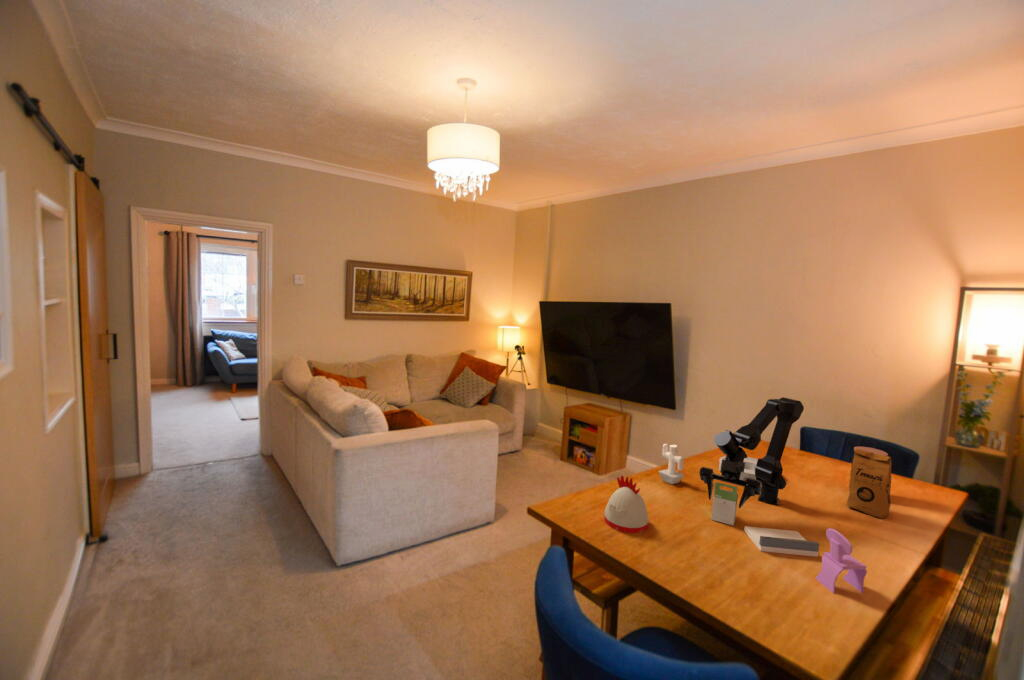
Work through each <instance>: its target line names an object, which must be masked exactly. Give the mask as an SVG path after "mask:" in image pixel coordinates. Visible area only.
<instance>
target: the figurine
mask: <svg viewBox="0 0 1024 680" xmlns="http://www.w3.org/2000/svg"><path fill="white" fill-rule="evenodd" d="M678 452H679V451H678V445H677V444H670V445H669V444H668V443H663V445H662V454H661V455H662V457H663V458H664V459H667V460H668V466H667V468H665V469H662V470H658V474H659V476H660V478H661V480H662V482H665V483H667V484H670V485H675V484H679V483H680V482H681V480H682V479H683V477H684V476H685V475H686V474H684V473H682V472H679V471H683V469H684V463H685V462H684V458H683V456H680V455H678ZM676 466H677V467H676ZM676 468H677V470H676Z"/></svg>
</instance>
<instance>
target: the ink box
mask: <svg viewBox="0 0 1024 680" xmlns="http://www.w3.org/2000/svg"><path fill="white" fill-rule="evenodd" d="M722 487H725V488H727V489H723V488H722ZM728 489H731V490H728ZM738 497H739V493H738V485H736V486H735V485H733V484H728V483H727V484H726V483H723V482H717V481H715V482H714V491H713V497H712V507H711V508H712V509H711V517H710V519H711V520H712V521H715V522H719V523H723V524H726V525H729V526H735V523H736V517H737V516H736V515H737V508H738V507H737V506H738V500H739V498H738Z"/></svg>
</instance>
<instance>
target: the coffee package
mask: <svg viewBox="0 0 1024 680" xmlns="http://www.w3.org/2000/svg"><path fill="white" fill-rule="evenodd" d="M854 453H855V455H854V459H853V458H852V459H853V464H852V463H851V467H852V469H851V468H850V472H849V473H850V474H849V475H850V476H849V483H850V484H848V491H849V493H848V497H847V501H846V507H849V508H852V509H855V510H857V511H859V512H862V513H865V514H867V515H870V516H873V517H875V518H879V519H882V520H884V518H886V517H889V515H890V509H891V501H892V498H891V487H892V486H891V485H892V457H891V456H889V455H888V456H884V455H880V454H876V453H872V452H868V451H864V450H860V449H855V451H854ZM849 485H850V486H849Z"/></svg>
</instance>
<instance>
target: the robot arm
mask: <svg viewBox="0 0 1024 680" xmlns="http://www.w3.org/2000/svg"><path fill="white" fill-rule="evenodd" d="M804 409H805V408H804V405H803V402H802V401H801V400H798V399H792V398H789V397H781V398H769V399H767V401H766V403H765V405H764V406H763V407H762V409H761V410H760V411H759V412H758V413H757V414H756V415H755V417H754V418H753V419H752V420H751V421H750V422H749V423H748V424H746V425H743V426H741V427H740V428H738V429H737V430H736V431H735V432H732V431H731V430H729V429H725V430H724V431H722V432H718V434H716V435H714V438H713V443H714V444H715V445H716V446H717V448H718V449H719V450H720V451H721V452H722V453H723V454H724V455H725V456H726V458H725V460H722V463H721V470H719V471H720V473H721V474H719V473H715V472H714V468H709V467H706V466H702V467H700V469H699V471H698V473H699V477H700V480H701V481H703V483H704V484H706V486H707V494H708V500H709V501H711V499H712V494H713V490H714V488H713V487H714V480H715V481H716V480H717V481H721V482H722V483H723V482H724V483H727V484H728V483H729V484H730V485H734V486H735V485H736V486H740V487H743V491H742V495H741V497H740V500H739V503H738V509H741V508H742V507H743V506H744V504H745V503H746V502H747V500H749V499H750V498H751V497H755V496H758V498H757V501H760V502H762V503H763V502H764V503H768V504H772V505H775V506H778V505H779V503H780V502H779V501H780V498H779V490H784V488H786V485H787V481H786V479H785V477H784V476H783V471H784V469H783V466H782V462H781V461H782V460H781V459H782V457H783V453H784V452H785V447H786V444H787V442H788V438H789V436H790V432H791V429H792V426H793V425H794V423H795V422H797V421H798V420H799V419H800V418H801V416H802V413H803V412H804ZM774 419H776V423H775V426H774V429H773V433H772V435H771V438H770V440H769V441H770V442H769V444H768V447H767V451H766V454H765V455H764V456H763V457H762V458H757V459H758V460H757V464H756V467H755V476H756V480H755V479H751V478H747V481H743V480H740V475H741V472H744V468H745V462H744V458H747V457H748V454H747V453H746V451H745V449H746V450H749V451H754V450H755V449H756V448H758V446H759V444H760V442H761V441H762V434H763V432H764V431H765V430H766V429H767V428H768V427H769V425H770V424H771V423H772V422H773V421H774ZM761 483H762V484H761Z"/></svg>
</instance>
